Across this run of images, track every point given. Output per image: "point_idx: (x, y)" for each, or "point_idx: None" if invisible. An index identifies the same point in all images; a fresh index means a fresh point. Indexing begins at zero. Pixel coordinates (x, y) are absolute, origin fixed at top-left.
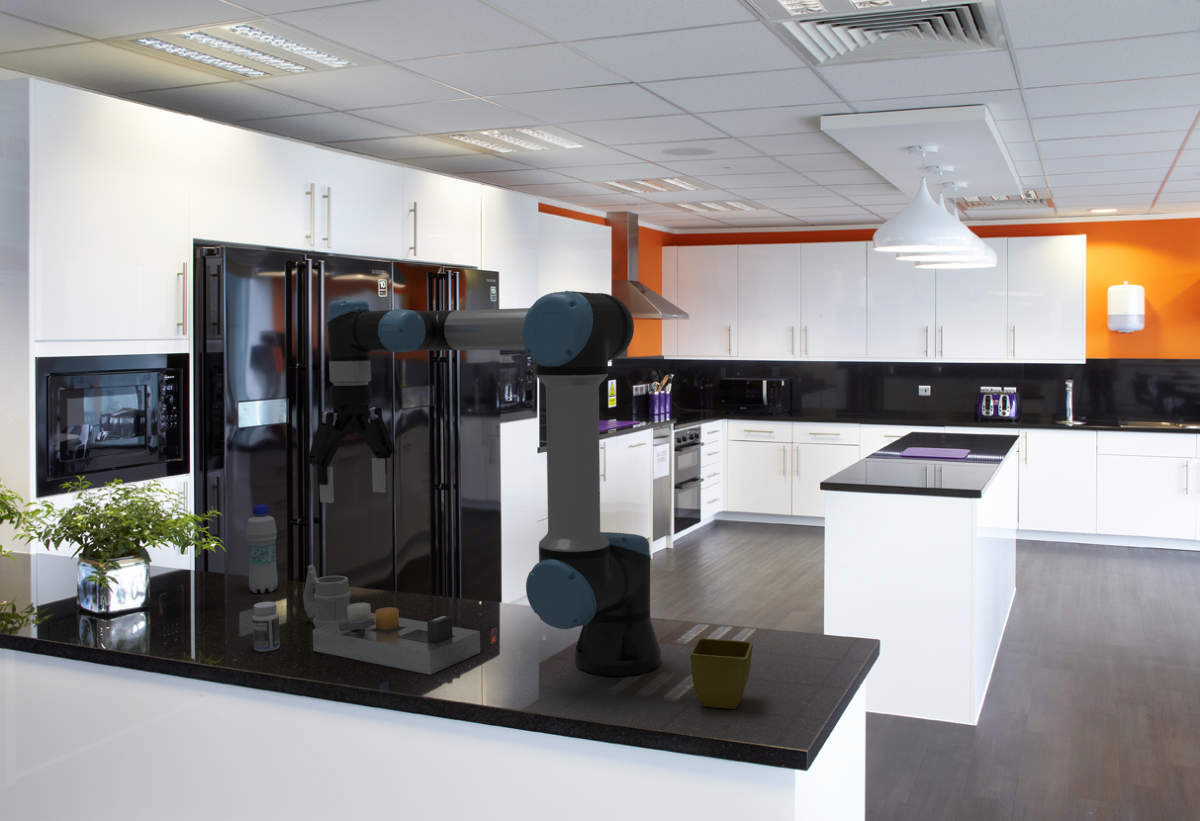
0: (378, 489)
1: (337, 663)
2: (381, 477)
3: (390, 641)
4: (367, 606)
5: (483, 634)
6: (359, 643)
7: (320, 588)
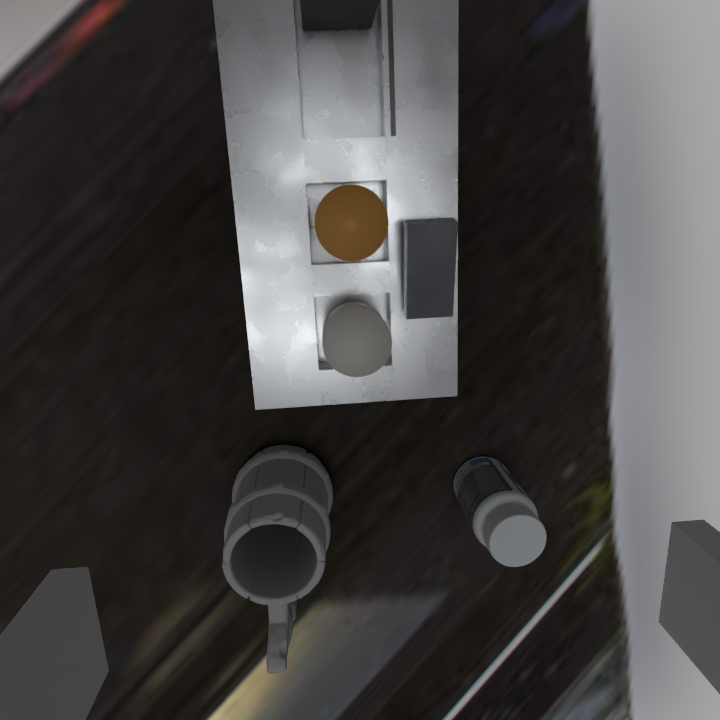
0: (87, 633)
1: (485, 255)
2: (11, 703)
3: (436, 119)
4: (350, 313)
5: (78, 84)
6: None
7: (325, 545)
